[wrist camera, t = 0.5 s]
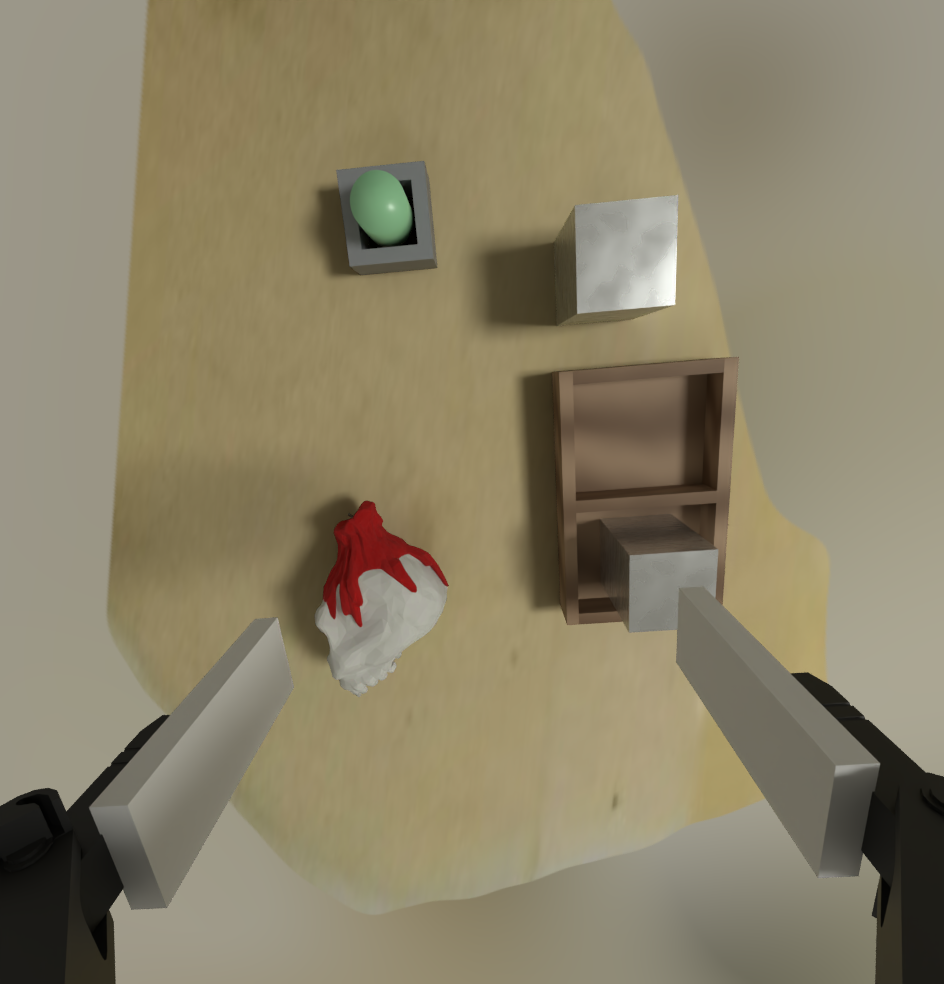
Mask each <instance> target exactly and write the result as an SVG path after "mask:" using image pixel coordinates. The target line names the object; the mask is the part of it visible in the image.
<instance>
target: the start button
mask: <svg viewBox="0 0 944 984" xmlns="http://www.w3.org/2000/svg"><path fill="white" fill-rule="evenodd" d="M350 206H351V211H352V214H353V216H354V218H355V219H356V221H357V222H358V224H359V225H360V226H361V227H362V228H363V230H364V231H365V232H366V233H367V234H368V236H369V237H370V238H371V239H372V240H373V241H374V242H375V243H376V244H378V245H380V246H382V247H395V246H399V245H401V244H403V243H404V242H405V241H406V240H407V239H408V238H409V236H410V235H411V232H412V230H413V225H414V216H413V212H412V209H411V206H410V204H409V202H408V199H407V197H406V195H405V192H404V190H403V188H402V186H401V184H400V183H399V181H398V180H397V179H396V178H395V177H394V176H393V175H391V174H390V173H388V172H386V171H382V170H371V171H368V172H366V173H364V174H362V175H361V176H360V177H359V178H358V179H357V180H356V181H355V183H354V185H353V187H352V190H351V194H350Z"/></svg>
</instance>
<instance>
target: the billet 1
mask: <svg viewBox="0 0 944 984" xmlns="http://www.w3.org/2000/svg"><path fill="white" fill-rule="evenodd" d="M677 221H678V195H674V196H664V197H654V198H644V199H633V200H623V201H613V202H603V203H593V204H583V205H575V206H574V208H573V210H572V211H571V213H570V215H569V217H568V218H567V220H566V222H565V224H564V225H563V227H562V229H561V231H560V232H559V234H558V236H557V238H556V240H555V241H554V264H555V295H556V326H563V325H574V324H585V323H597V322H608V321H619V320H630V319H635V318H638V317H641V316H644V315H647V314H650V313H653V312H656V311H659V310H662V309H665V308H667V307H670V306H673V305H675V287H676V254H677Z"/></svg>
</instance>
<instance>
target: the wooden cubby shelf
mask: <svg viewBox="0 0 944 984" xmlns="http://www.w3.org/2000/svg"><path fill="white" fill-rule="evenodd" d="M738 361H739V357H729V358H712V359H700V360H689V361H677V362H665V363H653V364H641V365H630V366H618V367H606V368H594V369H582V370H571V371H559V372H552V388H553V416H554V444H555V472H556V500H557V527H558V555H559V583H560V605H561V608H562V611H563V614H564V617H565V620H566V623H567V625H575V624H591V623H607V622H623V621H622V619H621V617H620V616H619V614H618V612H617V610H616V609H615V607H614V605H613V603H612V602H611V600H610V598H609V596H608V595H607V593H606V591H605V589H604V588H603V586H602V584H601V569H600V519H603V518H617V517H631V516H645V515H659V514H672V515H673V516H675V517H676V518H677V519H679V520H680V521H681V522H683V523H684V524H685V525H687V526H688V527H689V528H691V529H692V530H693V531H695V532H696V533H697V534H699V535H700V536H701V537H703V538H704V539H705V540H707V541H708V542H709V543H711V544H712V545H713V546H715V547H716V548H717V549H718V564H717V581H716V597H715V599H716V600H717V601H718V602H719V603H720V604H721V605H722V604H723V589H724V574H725V559H726V544H727V529H728V513H729V498H730V483H731V468H732V453H733V438H734V423H735V408H736V393H737V377H738Z"/></svg>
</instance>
